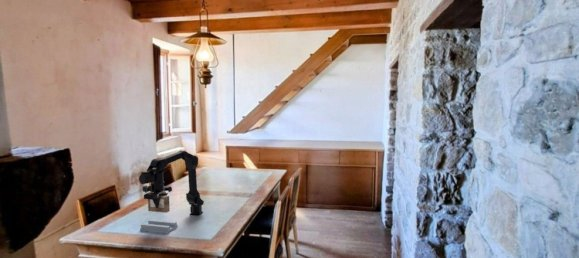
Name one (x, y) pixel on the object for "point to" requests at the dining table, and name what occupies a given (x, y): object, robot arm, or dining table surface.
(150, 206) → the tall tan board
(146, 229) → the display stand
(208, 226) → the dining table surface
